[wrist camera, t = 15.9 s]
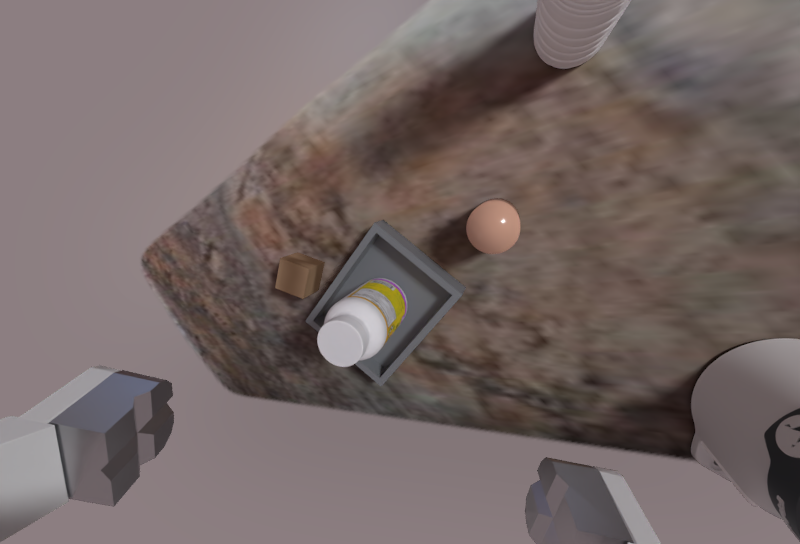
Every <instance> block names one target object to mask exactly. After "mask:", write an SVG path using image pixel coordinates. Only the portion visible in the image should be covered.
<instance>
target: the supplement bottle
mask: <svg viewBox="0 0 800 544" xmlns="http://www.w3.org/2000/svg"><path fill="white" fill-rule="evenodd" d="M406 313H407V299H406V296H405V294H404V292H403V290H402V289H401V288H400V287H399V286H398V285H397V284H396V283H395V282H393V281H391V280H388V279H385V278H374V279H371V280H369V281H367V282H365V283H364V284H362V285H361V286H360V287H358V288H357V289H355V290H354V291H353V292H351V293H350V294H348V295H347V296H346V297H344V298H343V299H341V300H340V301H338V302H337V303H335V304H334V305H333V306H332V307H331V308H330V309H329V311H328V313H327V315H326V317H325V321H324V325H323V326H322V327H321V329H320V330H319V333H318V337H317V343H318V347H319V350H320V352H321V354H322V355H323V356H324V358H325V359H326V360H328V361H329V362H330V363H332V364H334V365H336V366H340V367H348V366H351V365H354V364H355V363H357V362H358V361H359V360H366V359H369V358H371V357H373V356H374V355H376V354H377V353H378V352H379V351H380V350H381V348H382V347H383V346H384V344H385V343H386V342H387V340H388V339H389V338H390V337H391V335H392V334H393V333H394V331H395V330H396V329H397V328H398V326H399V325H400V324H401V322H402V321H403V319H404V318H405V316H406Z"/></svg>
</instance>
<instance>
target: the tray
mask: <svg viewBox="0 0 800 544" xmlns="http://www.w3.org/2000/svg"><path fill="white" fill-rule="evenodd" d="M374 278H385V279H388V280H391V281H393V282H395V283H396V284H397V285H398V286H399V287H400V288H401V289H402V290H403V292H404V294H405V296H406V299H407V313H406V316H405V318H404V319H403V321H402V322H401V324H400V325H399V326H398V328H397V329H396V330H395V331H394V333H393V334H392V335H391V337H390V338H389V339H388V340H387V342H386V343H385V344H384V346H383V347H382V348H381V350H380V351H379V352H378V353H377V354H376V355H374V356H373V357H371V358H369V359H366V360H359V361H358V362H357V363H355V365H357V366H358V367H359V368H360V369H361V370H362V371H364V372H365V373H366V374H367V375H368V376H369V377H370V378H372V379H373V380H374V381H375V382H376V383H377V384H379V385H380V386H382V385H383V384H384V383H385V381H386V380H387V379H388V378H389V377H390V376H391V375H392V374H393V372H394V371H395V370H396V369H397V368H398V367H399V366H400V365H401V363H402V362H403V361H404V360H405V359H406V358H407V357H408V356H409V354H410V353H411V352H412V351H413V350H414V349H415V348H416V347H417V345H418V344H419V343H420V342H421V341H422V340H423V339H424V338H425V336H426V335H427V334H428V333H429V332H430V331H431V330H432V329H433V327H434V326H435V325H436V324H437V323H438V322H439V321H440V320H441V318H442V317H443V316H444V315H445V314H446V313H447V312H448V310H449V309H450V308H451V307H452V306H453V305H454V304H455V303H456V301H457V300H458V299H459V298H460V297H461V296H462V295H463V292H464V290H465V288H466V287H465V286H463V285H462V284H461V283H460V282H458V281H457V280H456V279H455V278H454V277H452V276H451V275H450V274H449V273H447V272H446V271H445V270H444V269H443V268H441V267H440V266H439V265H438V264H437V263H435V262H434V261H433V260H432V259H430V258H429V257H428V256H427V255H426V254H424V253H423V252H422V251H421V250H419V249H418V248H417V247H416V246H415V245H413V244H412V243H411V242H410V241H408V240H407V239H406V238H405V237H404V236H402V235H401V234H400V233H399V232H397V231H396V230H395V229H394V228H393V227H391V226H390V225H389V224H388V223H387V222H385V221H384V220H382V221H378V222H375V223H374V224H373V226H372V227H371V229H370V230H369V231H368V233H367V234H366V236H365V237H364V239H363V240H362V241H361V243H360V244H359V246H358V247H357V248H356V250H355V251H354V253H353V254H352V256H351V257H350V258H349V260H348V261H347V263H346V264H345V266H344V267H343V268H342V270H341V271H340V273H339V274H338V275H337V277H336V278H335V280H334V281H333V283H332V284H331V285H330V287H329V288H328V290H327V291H326V292H325V294H324V295H323V297H322V298H321V300H320V301H319V302H318V304H317V305H316V307H315V308H314V310H313V311H312V312H311V314H310V315H309V317H308V318H307V319H306V322H307V323H308V324H309V325H310V326H311V327H313V328H314V329H315V330H316V331H317V332H318V333H319V330H320V329H321V327H322V326H323V325H324V321H325V317H326V315H327V313H328V311H329V309H330V308H331V307H332V306H333V305H334V304H335V303H337V302H338V301H340V300H341V299H343V298H344V297H346V296H347V295H348V294H350V293H351V292H353V291H354V290H355V289H357V288H358V287H360V286H361V285H362V284H364V283H365V282H367V281H369V280H371V279H374Z"/></svg>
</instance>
